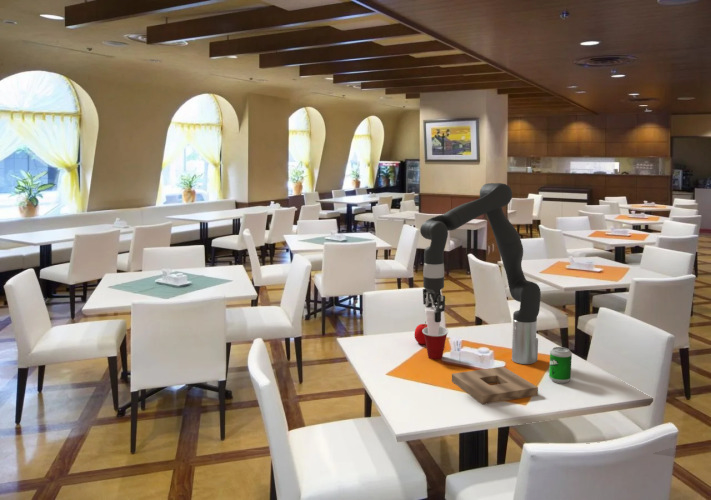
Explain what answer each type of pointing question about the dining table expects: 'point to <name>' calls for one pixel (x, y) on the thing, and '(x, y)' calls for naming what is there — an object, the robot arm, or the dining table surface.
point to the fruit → (420, 334)
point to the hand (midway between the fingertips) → (433, 319)
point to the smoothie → (432, 321)
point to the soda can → (560, 365)
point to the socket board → (504, 390)
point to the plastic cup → (435, 343)
